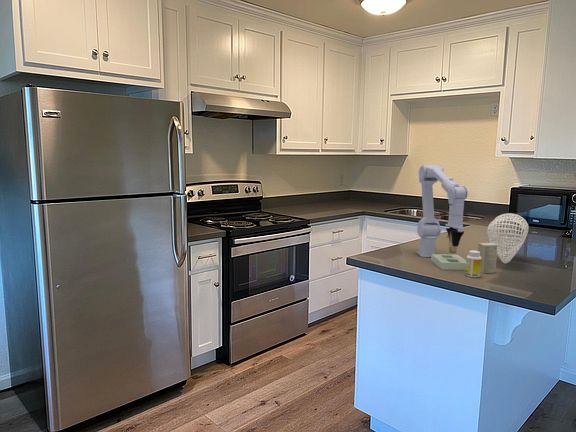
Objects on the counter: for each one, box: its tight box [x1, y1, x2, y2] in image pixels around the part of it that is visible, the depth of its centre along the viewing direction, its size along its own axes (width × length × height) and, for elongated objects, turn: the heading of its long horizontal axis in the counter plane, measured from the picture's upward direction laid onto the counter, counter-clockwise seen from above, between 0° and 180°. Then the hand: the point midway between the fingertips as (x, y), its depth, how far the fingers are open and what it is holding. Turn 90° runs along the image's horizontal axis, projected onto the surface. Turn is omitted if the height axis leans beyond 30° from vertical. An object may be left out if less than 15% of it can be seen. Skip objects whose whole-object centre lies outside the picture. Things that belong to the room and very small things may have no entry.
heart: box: [486, 212, 530, 264], centre depth 195 cm, size 28×16×22 cm, turn 148°
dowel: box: [448, 233, 458, 254], centre depth 186 cm, size 3×3×9 cm
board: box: [430, 253, 467, 271], centre depth 192 cm, size 16×12×3 cm
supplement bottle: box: [465, 249, 482, 278], centre depth 174 cm, size 6×6×10 cm
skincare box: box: [477, 242, 498, 274], centre depth 181 cm, size 6×4×12 cm
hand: (453, 245), depth 187 cm, fingers closed on dowel, 3 cm apart
